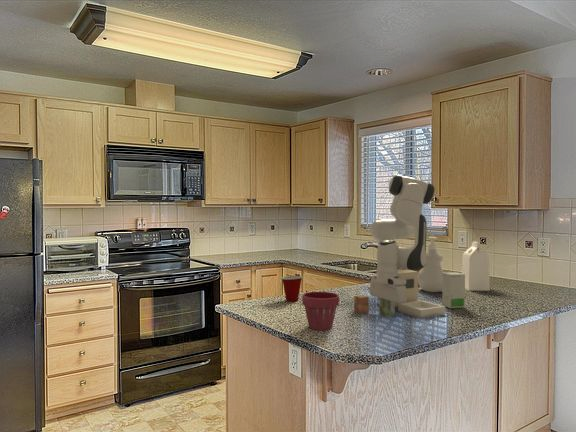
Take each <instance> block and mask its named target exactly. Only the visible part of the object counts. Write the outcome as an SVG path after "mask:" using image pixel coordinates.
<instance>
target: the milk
mask: <svg viewBox="0 0 576 432" xmlns="http://www.w3.org/2000/svg"><path fill="white" fill-rule="evenodd" d="M461 262H462V263H461V273H462V274H465V290H467V291H483V292H485V291H491V287H490V285H491V284H490V282H491V281H490V257H489V255H488V254H487V253H486V252H485V251H484V250H483V249H482V248H481V247H480V243H479V242H478V241H472V242H471V246H470V247H469V248H467V249H466V250H465V251H464V252H463V254H462V261H461Z"/></svg>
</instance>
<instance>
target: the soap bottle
mask: <svg viewBox="0 0 576 432" xmlns="http://www.w3.org/2000/svg"><path fill="white" fill-rule="evenodd" d="M428 239H429V243H428V249H427V250H426V265H425V266H424V267H423V268H422V269H421V270H420V271H419V273H418V284H419V285H418V287H419V288H420V289H421V290H423V291H425V292H427V293H441V292H442V291H443V273H445V272H444V270H443V268H442V266H441V262H442V261H443V255H442V254H441V253H440V252H439V251H438V250H437V243H435V239H438V237H435V236H428Z"/></svg>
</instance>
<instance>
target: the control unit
mask: <svg viewBox="0 0 576 432" xmlns="http://www.w3.org/2000/svg"><path fill="white" fill-rule="evenodd" d="M398 274H399V275H400V276H401V277H403V278H404V279H406V284H404V285H405V286H406V293H407V297H406V302H412V301H419V300H418V298H419V297H418V296H419V295H418V294H419V293H418V292H419V289H418V288H419V285H418V271H413V270H398ZM376 306H377V307H378V308H379V303H377V304H376ZM394 311H398V303H396V306H395V309H394Z"/></svg>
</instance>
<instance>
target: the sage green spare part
mask: <svg viewBox="0 0 576 432" xmlns="http://www.w3.org/2000/svg"><path fill="white" fill-rule="evenodd" d="M378 304H379V307H378V308H379V309H378V311H379V316H382V317H385V318H389V317H394V316H395V311H394V312H391V311H389V307H390V306H391V303H390V301H388V300H385V299H379V301H378ZM394 309H395V307H394Z"/></svg>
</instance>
